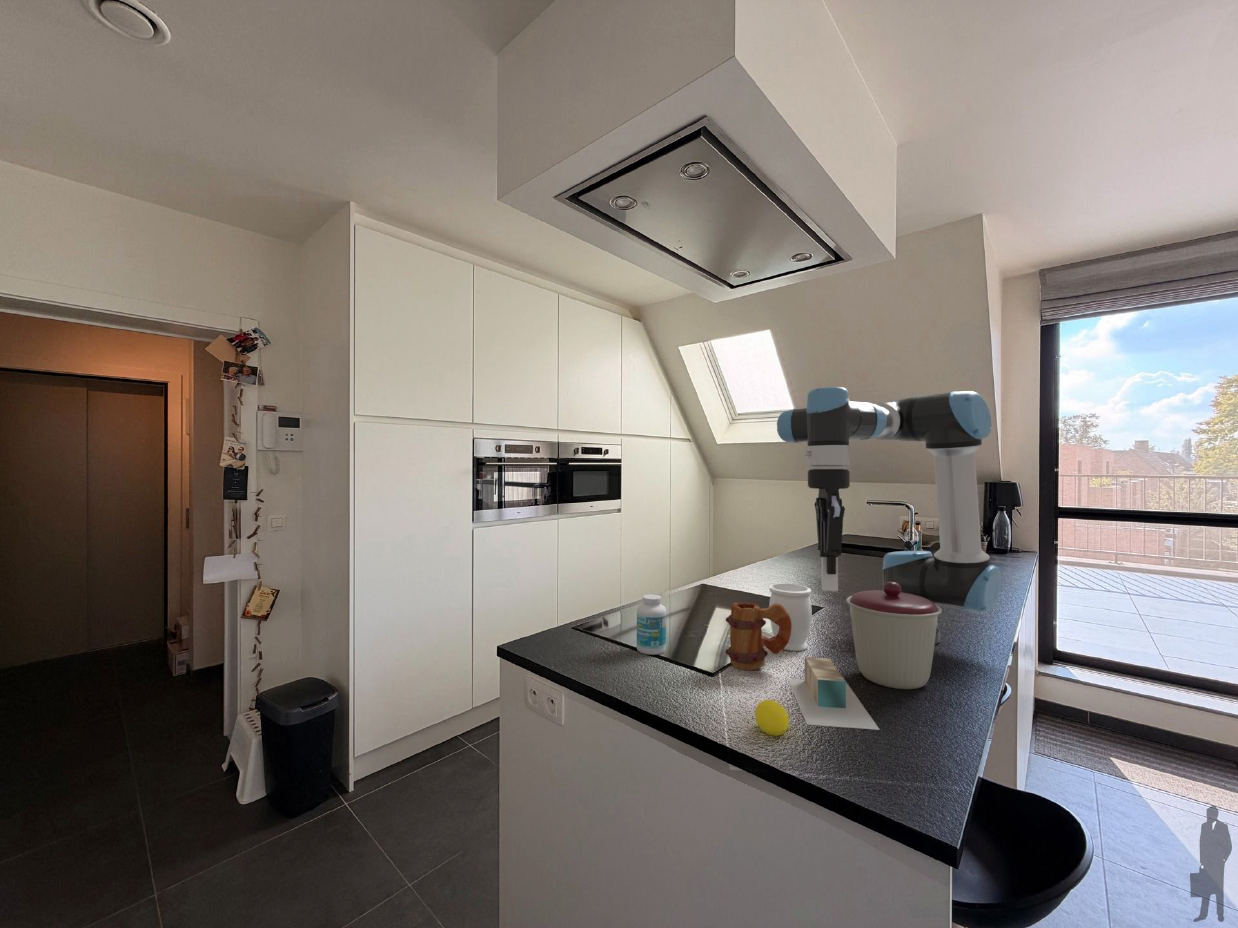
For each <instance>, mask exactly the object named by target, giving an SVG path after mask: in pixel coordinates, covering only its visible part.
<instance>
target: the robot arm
mask: <svg viewBox="0 0 1238 928" xmlns="http://www.w3.org/2000/svg"><path fill="white" fill-rule="evenodd" d="M806 401H807V402H806V407H804V408H798V409H797V408H793V409H789V410H784V411H782V413H780V414H779V416H778V418H777V421H776V431H777V434H778V436H779V438H780V439H781V440H782V441H783V442H786V443H805V442H807V450H806V451H804V456H806V457H807V466H808V467H810V468H811V469H808V470H807V486H808V488H809V489H816V490H818V497H816V498H815V502H814V508H815V515H816V516H815V517H816V532H817V549H818V550H819V557H820V559H821V560H820V562H821V563H820V566H821V567H820V568H821V569H820V570H821V572H820V573H821V578H820V579H821V583H820V584H821V590H822V591H824V592H838V591H839V566H838V565H839V564H838V563H839V561H838V560H839V556H842V549H843V548H842V546H843V545H842V543H843V527H844V525H843V524H844V517H845V510H846V508H845V506H844V505H843V498H841V497H840V491H839V490H840V489H841V490H843V489H844V490H845V489H849V488H850V486H851V484H850V483H851V482H850V481H851V478H850V474H851V473H850V470H849V469H847V467H849V466H850V464H851V462H850V461H851V460H850V459H851V458H850V456H851V455H850V453H851V452H850V449H851V448H850V440H861V441H863V440H873V439H875V440H879V441H885V440H890V441H902V442H925V450H926V451H928V452H929V453H930V454H932V456H933V466H934V467H933V468H934V469H933V470H934V480H935V491H936V492H935V493H936V494H935V495H936V508H937V518H938V519H937V520H938V521H937V522H938V532H939V533H938V534H939V547H940V548H939V549H938V550H937V551H935V552H934V553H932V552H931V551H929V550H928V551H927V550H903V551H902V550H900V551H892V552H888V553H885V555H884V556H883V563H882V568H881V570H882V586H883V585H884V584H885V583H886V582H896V583H898V584H899V585H900V586H901V592H903V593H908V594H913V595H917V596H921V597H924V598H926V599H928V600H930V601H932V602H933V603H934V604H936V605H940V606H944V607H951V608H955V609H959V610H964V611H966V612H970V611H971V612H977V613H987V612H988V611H991V610H992V608H994V606H995V605H996V603H997V602H998V600H999V597H1000V593H1001V589H1002V584H1003V583H1002V582H1003V581H1002V580H1003V577H1002V573H1001V569H1000V568H999V567H998V566H995V565H994V564H993V565H992V564H991V558H990V555H989V554H987V552H985V551H984V550H983V549H982V539H981V538H982V537H981V523H980V521H981V520H980V511H979V510H980V509H979V508H980V507H979V495H978V493H979V492H978V481H977V467H976V466H977V465H976V452H977V451H978V450H979V449H980V448H981V447H982V446H983V444H982V442H983V441H982V440H983V439H986V438H988V437H989V436H990V433H991V431H992V430H991V428H992V416H991V411H990V408H989V406H988V404H987V402H986V400H984V398H983V396H982V395H981V394H979V393H978V392H975V391H972V390H964V391H961V390H960V391H957V390H954V391H951V392H944V393H936V394H927V395H921V396H910V397H906V398H900V399H897V400H893V401H892V400H891V401H888V402H887V401H886V402H879V403H872V402H868V401H864V402H863V401H854V400H853V401H852V400H850V395H849V391H848V390H847V388H845V387H842V386H827V387H826V386H825V387H820V388H819V387H817V388H814V389H811V390H810V391H809V392H808V393H807V400H806ZM882 590H883V589H882ZM883 591H884V590H883ZM940 642H941V632H940V629H939V625H938V624H937V628H936V636H935V645H936V644H939V643H940Z"/></svg>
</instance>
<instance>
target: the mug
mask: <svg viewBox="0 0 1238 928" xmlns="http://www.w3.org/2000/svg"><path fill="white" fill-rule="evenodd" d="M765 619H768V620H769V621H770V622H771V621H772V622H774V623H775V624H777V625H778V626H779V632H778V634H777V635H776V637H775V636H774V637H773V638H769V637H767V636H764V635H763V634H762V633H763V630H762V629H763V627H764V626H765V625H766V624H767V621H766V620H765ZM725 621H726V623H728V625H729V626H730V629H729V630H730V631H729V633H730V635H729V637H730V639H729V641H730V644H729V646H728V648H726V649H725V651H724V653H725V654H726V655H727V656H728V657H729V659H730V661H729V662H730V664H731V665H732V666H733V667H734V668H736V669H739V670H740V671H741V670H742V671H756V670H758V669H761V668H763V667H764V666H765V664H766V662H765V660H766V657H767V656H768V654H769V652H768V651H766V650H765V649H767V650H769V651H770V652H771V653H772V654H774V655H778V654H780V653H781V652H782V651H784V648H785V647H786V645H787V644H788V642H789V639H790V635H791V627H792V624H791V618H790V616H789V614H788V612H787V611H786V609H785V608H784V607H783V606H782V605H781V604H778V603H775V604H773V605H771V606H770V607H769V606H768V607H766V608H762V607H760V606H759V605H758V604H757V603H753V602H752V603H749V602H733V603H732V604H731V610H730V615H728V617H726V618H725Z"/></svg>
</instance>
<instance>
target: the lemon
mask: <svg viewBox="0 0 1238 928" xmlns="http://www.w3.org/2000/svg"><path fill="white" fill-rule="evenodd" d="M754 717H755V721H756V724H757V725H758V727H759V728H760V730H761V731H762V732H763V733H766V735H769V736H772V737H773V736H774V737H778V736H781V735H784V734H785V733H786V732H787V730H788V729H789V725H790V718H789V717H790V715H789V713H788V712H787V710H786V708H785V707H784V706H783V705H781V704H780V702H778V701H775V700H773V699H764V700H762V701H760V702H759V703H758V704H757V705H756V707H755V711H754Z"/></svg>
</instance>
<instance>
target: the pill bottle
mask: <svg viewBox="0 0 1238 928" xmlns="http://www.w3.org/2000/svg"><path fill="white" fill-rule="evenodd" d="M641 600H642V604H640V605H638V607H637V609H636V649H637V651H638V652H639V653H641V654H644V655H647V656H648V655H650V656H655V655H656V656H657V655H661V654H663V653H664V652H665V651H666V648H667V608H666V607H665V606H664V605H663V604H661V602H662V596H661V595H658V594H645V595H642V599H641Z"/></svg>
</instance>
